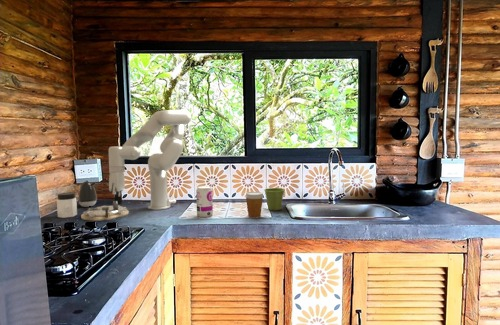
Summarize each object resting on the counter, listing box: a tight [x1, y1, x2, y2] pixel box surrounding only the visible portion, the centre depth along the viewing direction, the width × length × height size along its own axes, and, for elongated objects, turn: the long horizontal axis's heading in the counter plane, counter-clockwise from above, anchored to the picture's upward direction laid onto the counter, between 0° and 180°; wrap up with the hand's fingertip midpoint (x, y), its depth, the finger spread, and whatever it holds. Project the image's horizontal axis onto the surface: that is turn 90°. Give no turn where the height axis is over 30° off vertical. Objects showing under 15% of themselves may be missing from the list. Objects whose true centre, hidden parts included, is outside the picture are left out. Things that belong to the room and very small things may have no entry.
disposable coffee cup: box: [244, 191, 265, 218], centre depth 165 cm, size 10×10×12 cm
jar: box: [56, 191, 78, 219], centre depth 169 cm, size 9×8×12 cm
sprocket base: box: [80, 208, 130, 222], centre depth 171 cm, size 23×23×5 cm
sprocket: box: [83, 200, 127, 217], centre depth 170 cm, size 21×21×6 cm
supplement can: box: [195, 185, 214, 218], centre depth 167 cm, size 8×8×15 cm
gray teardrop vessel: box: [77, 180, 98, 208], centre depth 193 cm, size 10×10×15 cm
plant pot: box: [263, 187, 286, 211], centre depth 180 cm, size 12×12×11 cm
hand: (118, 203), depth 172 cm, fingers closed
